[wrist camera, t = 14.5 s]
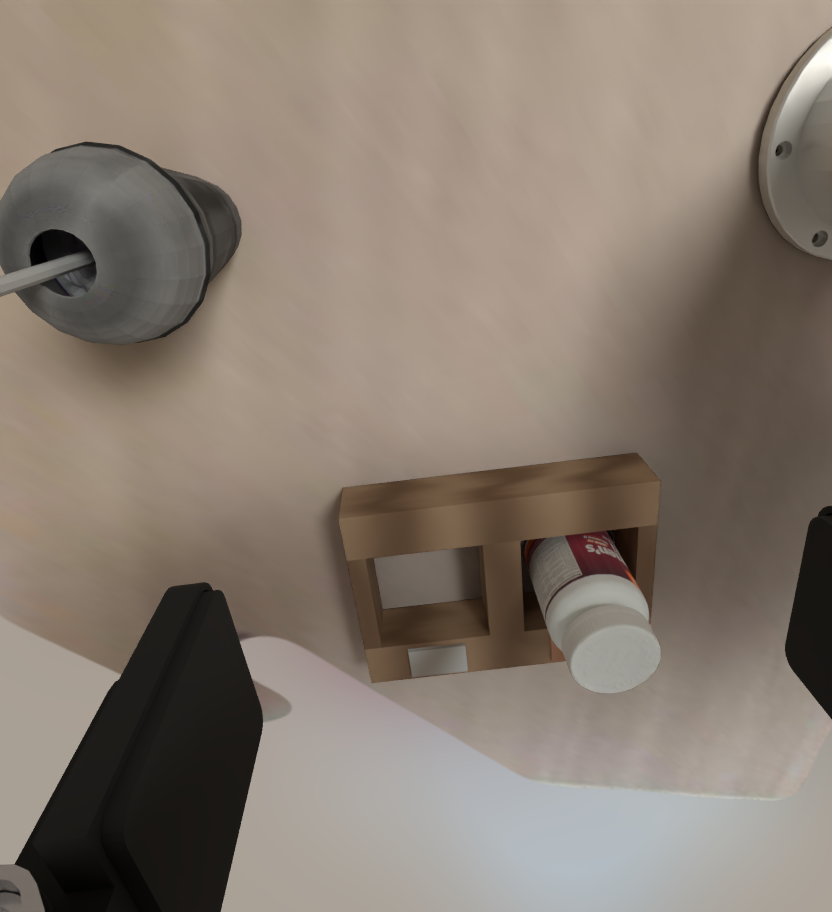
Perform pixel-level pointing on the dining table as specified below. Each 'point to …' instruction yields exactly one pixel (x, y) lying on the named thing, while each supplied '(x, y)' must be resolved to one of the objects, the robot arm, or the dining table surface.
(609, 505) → the socket board
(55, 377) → the dining table surface
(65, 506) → the dining table surface
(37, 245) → the beverage cup
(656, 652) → the pill bottle
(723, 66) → the dining table surface
